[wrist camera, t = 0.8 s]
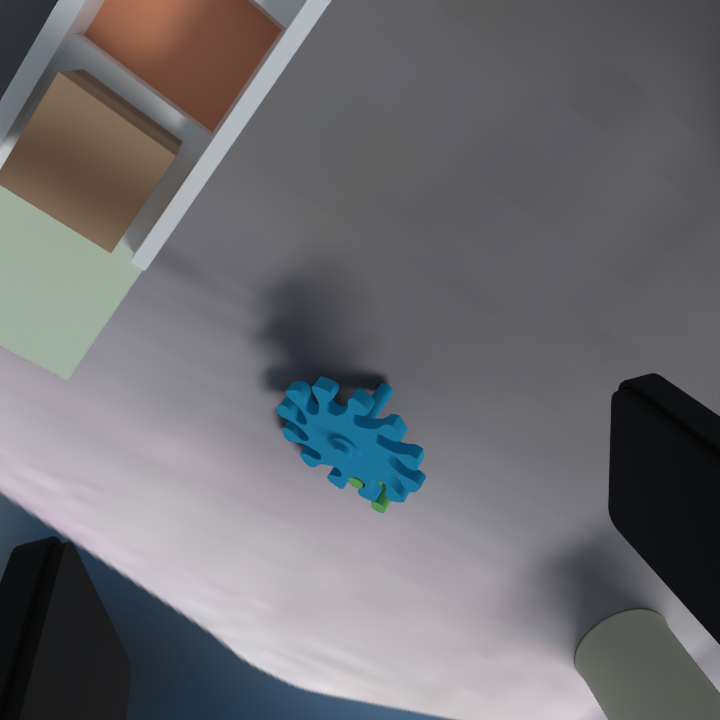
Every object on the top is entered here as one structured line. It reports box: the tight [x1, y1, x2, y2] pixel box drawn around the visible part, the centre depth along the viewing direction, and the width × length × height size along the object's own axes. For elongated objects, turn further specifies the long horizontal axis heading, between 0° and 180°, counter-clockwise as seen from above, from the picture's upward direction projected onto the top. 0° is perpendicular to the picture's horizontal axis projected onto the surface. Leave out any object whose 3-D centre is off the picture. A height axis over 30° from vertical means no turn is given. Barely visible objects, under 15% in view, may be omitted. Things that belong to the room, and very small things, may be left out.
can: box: [575, 609, 720, 720], centre depth 53 cm, size 9×9×12 cm
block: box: [0, 69, 182, 253], centre depth 28 cm, size 5×5×5 cm
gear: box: [276, 377, 426, 513], centre depth 40 cm, size 11×6×10 cm
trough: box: [0, 0, 331, 380], centre depth 30 cm, size 26×9×4 cm, turn 141°
